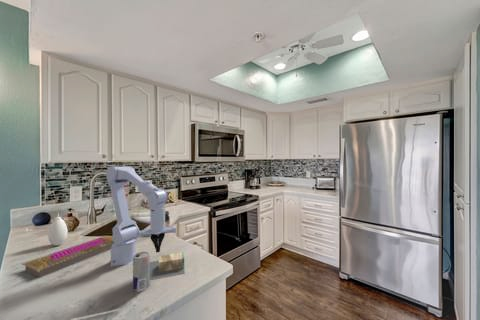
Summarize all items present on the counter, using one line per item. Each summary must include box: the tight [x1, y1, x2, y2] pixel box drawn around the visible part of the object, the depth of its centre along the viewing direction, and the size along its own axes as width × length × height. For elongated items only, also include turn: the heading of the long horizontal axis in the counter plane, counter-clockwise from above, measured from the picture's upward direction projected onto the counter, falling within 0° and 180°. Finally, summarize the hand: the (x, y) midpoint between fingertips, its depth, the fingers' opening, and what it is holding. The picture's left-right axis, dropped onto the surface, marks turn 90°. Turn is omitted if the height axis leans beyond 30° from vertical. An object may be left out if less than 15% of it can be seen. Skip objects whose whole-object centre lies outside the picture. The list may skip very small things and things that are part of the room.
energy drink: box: [132, 251, 151, 293], centre depth 70 cm, size 5×5×12 cm
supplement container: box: [165, 210, 171, 227], centre depth 131 cm, size 10×10×12 cm
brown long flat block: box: [21, 235, 114, 278], centre depth 96 cm, size 35×14×6 cm, turn 156°
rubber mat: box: [150, 260, 186, 281], centre depth 83 cm, size 18×15×1 cm
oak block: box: [158, 251, 185, 272], centre depth 84 cm, size 4×6×10 cm
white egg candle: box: [47, 212, 69, 246], centre depth 109 cm, size 8×8×18 cm
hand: (158, 251), depth 82 cm, fingers closed
